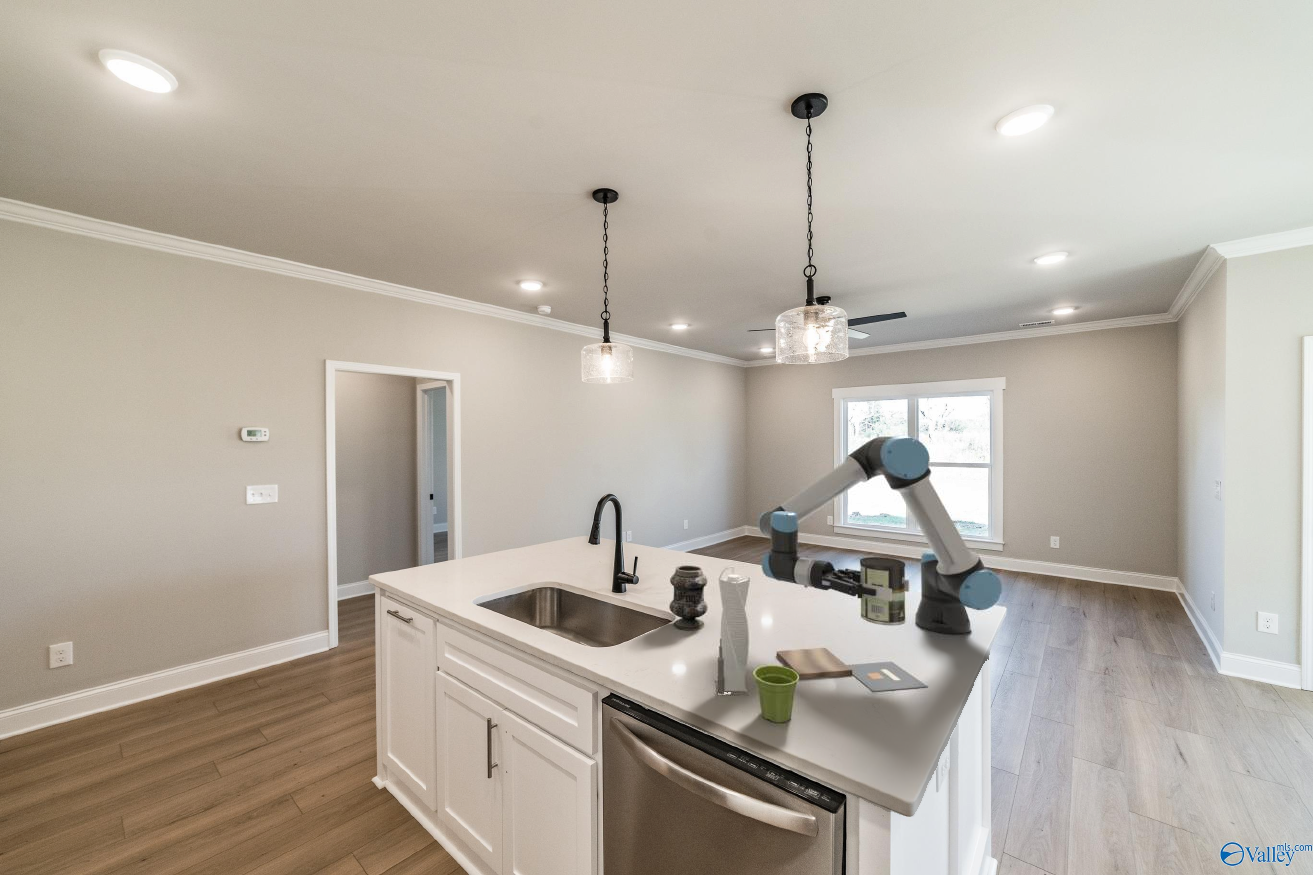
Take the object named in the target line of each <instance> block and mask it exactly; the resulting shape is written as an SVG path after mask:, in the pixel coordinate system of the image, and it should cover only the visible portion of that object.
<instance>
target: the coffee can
mask: <svg viewBox="0 0 1313 875" xmlns="http://www.w3.org/2000/svg"><path fill="white" fill-rule="evenodd" d="M859 564H860V571H861V584H862V587H863V584H869V585H874V586H879V587H885V588H890V589H892V601H887V600H883V599H878V598H873V597H869V596H864V595H863V594H862V598H860V618H862V620H864V621H866V622H867V623H871V624H875V625H879V626H880V625H881V626H901V625H904V624H905V623H906V622H907V621H906V620H907V619H906V591H905V580H906V571H905V570H906V568H905V567H906V562H904V561H902V560H899V559H895V558H891V557H890V558H889V557H880V556H879V557H877V556H872V557H871V556H870V557H869V556H868V557H863V558H861V559H859Z"/></svg>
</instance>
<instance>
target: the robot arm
mask: <svg viewBox="0 0 1313 875" xmlns="http://www.w3.org/2000/svg"><path fill="white" fill-rule="evenodd" d="M930 459H931V458H930V453H929V451H928V449H927V447H926V446H925V445H924V443H923V442H922V441H920V440H918V439H917V438H914V437H911V436H906V435H894V436H877V437H875V438H872V439H871V440H868V441H867V442H866V443H864V444H863V445H861V446H860V447H858V448H856V449H855V450H854V451H852V452H851V453H850V454H848V455H847V456H846V457H845V459H844V462H842V463H841V464H839V465H838V466H836V467H835V468H833V469H832V470H830V471H829V472H828V473H826V474H825V475H823V476H821V477H820V478H818V479H817V480H816V481H814V482H813V483H811V484H810V485H808V486H807V487H805V488H804V489H802V490H801V491H799V492H798V493H797V494H795V495H793V496H792V497H790V498H789V499H788V500H786V501H785V502H783V503H782V504H780V505H779V506H777V507H776V508H774V509H772V510H770V511H769V510H768V511H764V512H763V513H762V514H760V516H759V518H758V519H757V520H758V521H757V525H758V529H759V531H761V533H762V534H763V535H764V536H766V537H767V538H769V539H770V551H769V552H766V553H765V554H764V555H763V557H762V561H761V571H762V573H763V575H765V577H766V578H769V579H774V580H776V581H778V582H786V583H791V584H796V585H800V586H803V588H805V589H808V587H810V588H814V589H816V590H817V589H818V590H822V591H830V590H833V591H836V592H839V593H842V594H845V595H849V596H851V597H857V599H861V598H862V594H863V595H864V596H869V597H873V598H878V599H883V600H887V601H892V589H890V588H885V587H879V586H874V585H869V584H863V587H862V584H861V570H858V569H857V570H855V569H850V568H844V569H842V568H841V569H839V568H838V569H837V570H836V569H835V567H834V565H833V563H832V562H830V561H826V560H820V559H815V558H810V557H803V556H799V555H798V554H799V550H798V549H799V546H798V545H799V542H798V541H799V523H800V522H802V521H803V520H806V518H808V517H810V516H811V515H813V514H814V513H816V512H817V511H819V510H820V509H822V508H823V507H825V506H826V505H828V504H829V503H831V502H832V501H833V500H835V499H836V498H838V497H840V496H841V495H843V494H844V493H845V492H847V491H848V490H850V489H851V488H853V487H855V486H856V485H858V484H859V483H867V482H868V481H870V480H871V479H872V478H875V477H878V476H883V477H884V478H885V480H886V483H888V485H889V487H890V489H891V490H892V491H897V492H898V493H899V494H900V496H901V497H902V499H903V501H904V503H905V504H906V506H907V508H908V510H909V512H910V513H911V515H912V517H913V519H914V521H915V523H916V524H917V526H918V527H919V530H920V531H921V533H922V534H923V536H924V538H925V541H927V543H928V545H929V547H930V549H931V551H924V552H923V553H922V554H921V558H920V582H921V584H920V585H921V586H920V588H921V590H920V591H921V595H920V597H921V599H920V601H919V604H918V607H917V611H916V613H915V619H914V620H915V623H917V624H916V625H917V626H919V627H921V628H924V629H926V630H928V631H932V632H936V633H940V634H941V633H942V634H953V635H961V634H962V635H963V634H968V633H969V632H970V631H971V620H970V619H969V618H970V617H969V614H968V612H967V609H966V608H969V609H971V610H976V611H985V610H987V609H988V610H989V609H990V608H992V607H993V606H995V605H996V604H997V603H998V602H999V600H1000V598H1001V595H1002V591H1003V584H1002V582H1001V579H1000V577H999V576H998V575H997V574H996V573H994V571H992V570H990V569H987V568H986V566H985V565H984V563H983V561H982V560H981V558H980V556H979V554H978V553H977V552H974V551H971V550H969V548H968V547H967V545H966V542H965V541H964V539H963V538H962V536H961V533H960V532H959V531H958V530H959V529H958V528H957V527H956V524H955V523H954V522H953V519H952V518H951V516H950V514H949V512H948V511H947V509H946V507H945V505H944V504H943V502H942V500H941V499H940V496H939V495H938V493H937V491H936V489H935V487H934V486H933V484H932V482H931V480H930V478H931V474H932V470H931V468H930V467H929V463H930ZM906 592H910V580H909V579H905V593H906Z"/></svg>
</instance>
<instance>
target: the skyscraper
mask: <svg viewBox="0 0 1313 875" xmlns="http://www.w3.org/2000/svg"><path fill="white" fill-rule="evenodd" d="M735 568H736V567H735V566H734V565H729V566H727V567H725V568H724V569H722V571H721V573H720V575H719V577H718V586H719V593H720V594H719V595H720V600H721V608H722V611H721V612H722V613H721V619H720V620H721V622H720V638H719V647H718V653H719V654H718V657H717V676H716V680H714V684H715V683H716V684H715V688H716V689H717V690H716V693H717V692H718V693H719V694H724V692H727V693H728V692H731V694H730V695H729V696H749V693H748V690H747V686H746V682H745V681H746V680H745V679H746V676H747V675H746V673H747V667H748V660H749V659H748V658H749V650H750V649H749V648H750V647H749V646H750V644H749V643H750V642H749V641H750V640H749V639H750V636H749V635H750V634H749V624H748V617H747V613H746V605H747V604H746V603H747V599H748V593H749V587H750V582H751V578H750V577H749V576H746V577H745V576H744V577H741V576H740V575H739V574H736V573H735V574H734V572H735ZM729 569H732V572H731V574H728V575H727V576H726V577H722V576H723V574H724V573H725V572H726V571H727V570H729Z"/></svg>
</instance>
